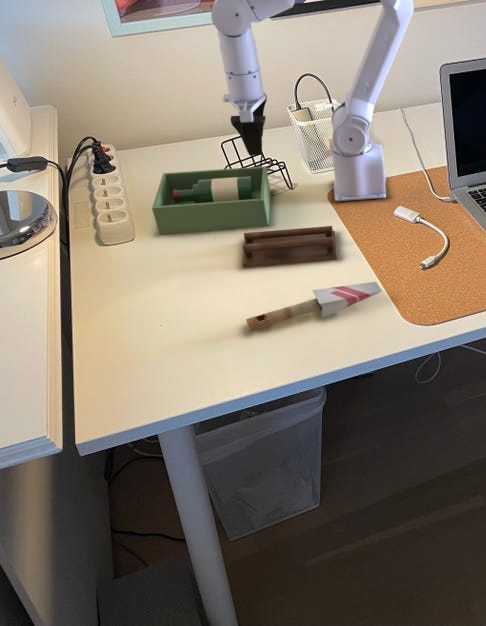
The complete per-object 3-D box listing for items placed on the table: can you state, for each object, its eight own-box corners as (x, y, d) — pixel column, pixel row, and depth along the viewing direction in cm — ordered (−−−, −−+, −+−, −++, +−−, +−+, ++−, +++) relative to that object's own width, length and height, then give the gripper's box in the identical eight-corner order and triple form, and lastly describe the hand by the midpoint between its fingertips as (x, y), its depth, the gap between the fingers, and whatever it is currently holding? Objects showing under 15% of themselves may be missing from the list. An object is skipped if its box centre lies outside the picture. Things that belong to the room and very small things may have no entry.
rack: (335, 234, 125) (333, 219, 124) (337, 259, 119) (335, 244, 117) (245, 242, 123) (242, 226, 121) (243, 267, 117) (239, 252, 115)
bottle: (256, 202, 134) (252, 173, 132) (253, 208, 129) (249, 178, 127) (179, 208, 132) (174, 179, 130) (174, 214, 127) (168, 184, 125)
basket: (270, 190, 138) (266, 166, 134) (268, 225, 127) (263, 199, 124) (169, 198, 134) (163, 173, 131) (159, 234, 124) (151, 208, 121)
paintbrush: (382, 285, 108) (248, 324, 101) (384, 299, 110) (252, 339, 103) (373, 272, 111) (242, 309, 104) (375, 286, 113) (246, 324, 106)
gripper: (220, 56, 126) (235, 130, 134) (213, 85, 115) (230, 164, 123) (262, 54, 127) (274, 127, 136) (259, 83, 116) (273, 161, 124)
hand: (256, 145), depth 129 cm, fingers open, 7 cm apart
